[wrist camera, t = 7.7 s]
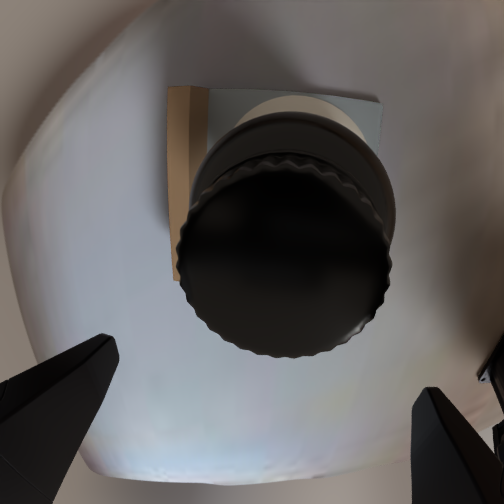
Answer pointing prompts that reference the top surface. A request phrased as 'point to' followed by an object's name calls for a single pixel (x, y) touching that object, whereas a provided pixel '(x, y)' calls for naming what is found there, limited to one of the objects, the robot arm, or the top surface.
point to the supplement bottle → (288, 235)
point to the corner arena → (230, 116)
